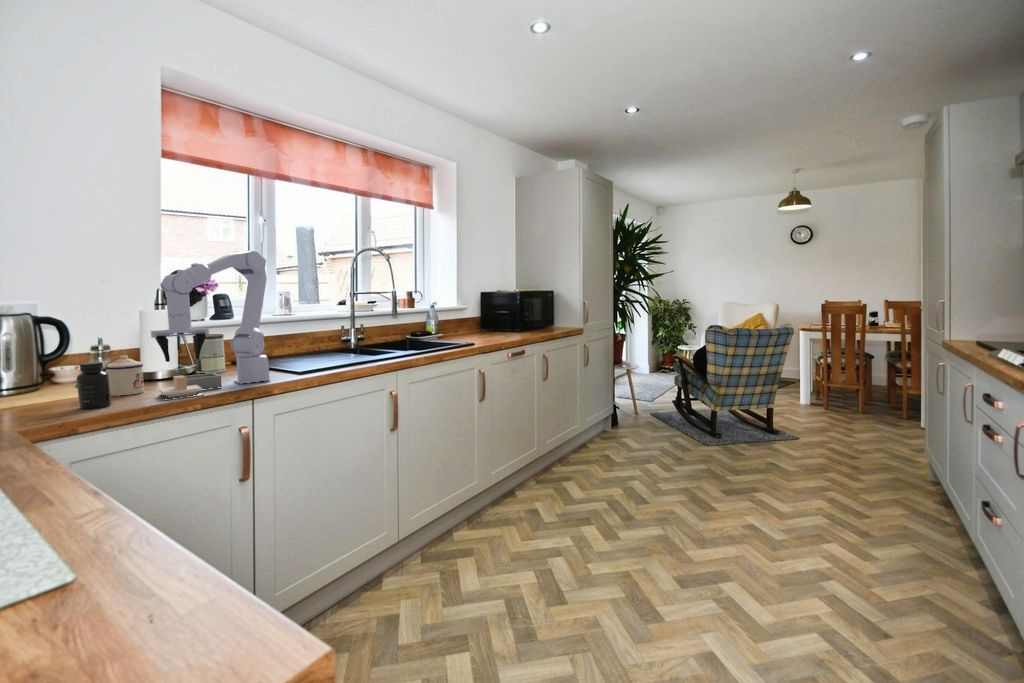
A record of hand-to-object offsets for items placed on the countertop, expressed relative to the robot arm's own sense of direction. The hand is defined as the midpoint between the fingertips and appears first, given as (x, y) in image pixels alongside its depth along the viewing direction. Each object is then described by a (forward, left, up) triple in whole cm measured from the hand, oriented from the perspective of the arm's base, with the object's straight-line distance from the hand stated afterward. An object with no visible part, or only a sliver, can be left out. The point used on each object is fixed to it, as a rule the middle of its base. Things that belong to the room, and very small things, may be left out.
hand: (182, 360), depth 157 cm
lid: (+2, +3, -9) cm, 9 cm away
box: (-5, -6, -10) cm, 13 cm away
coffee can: (-16, -44, -11) cm, 48 cm away
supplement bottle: (+22, +4, -11) cm, 24 cm away
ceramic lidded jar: (+13, -14, -11) cm, 22 cm away
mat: (+2, +3, -10) cm, 11 cm away
